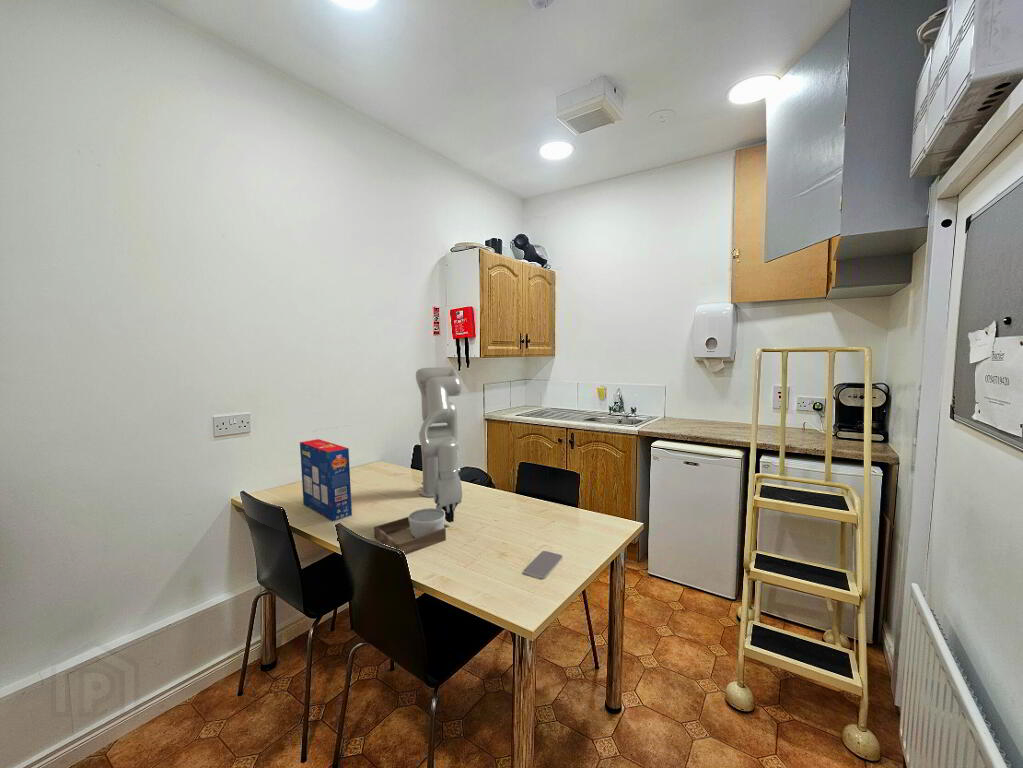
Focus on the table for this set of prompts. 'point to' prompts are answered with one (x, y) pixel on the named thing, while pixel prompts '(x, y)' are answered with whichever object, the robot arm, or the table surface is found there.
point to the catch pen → (410, 545)
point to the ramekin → (426, 521)
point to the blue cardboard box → (326, 478)
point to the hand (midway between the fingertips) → (449, 521)
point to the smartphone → (542, 564)
